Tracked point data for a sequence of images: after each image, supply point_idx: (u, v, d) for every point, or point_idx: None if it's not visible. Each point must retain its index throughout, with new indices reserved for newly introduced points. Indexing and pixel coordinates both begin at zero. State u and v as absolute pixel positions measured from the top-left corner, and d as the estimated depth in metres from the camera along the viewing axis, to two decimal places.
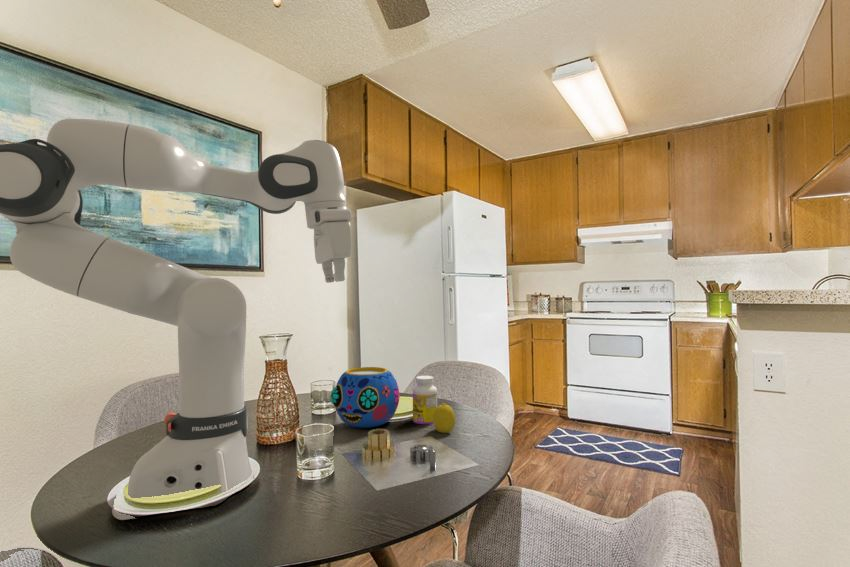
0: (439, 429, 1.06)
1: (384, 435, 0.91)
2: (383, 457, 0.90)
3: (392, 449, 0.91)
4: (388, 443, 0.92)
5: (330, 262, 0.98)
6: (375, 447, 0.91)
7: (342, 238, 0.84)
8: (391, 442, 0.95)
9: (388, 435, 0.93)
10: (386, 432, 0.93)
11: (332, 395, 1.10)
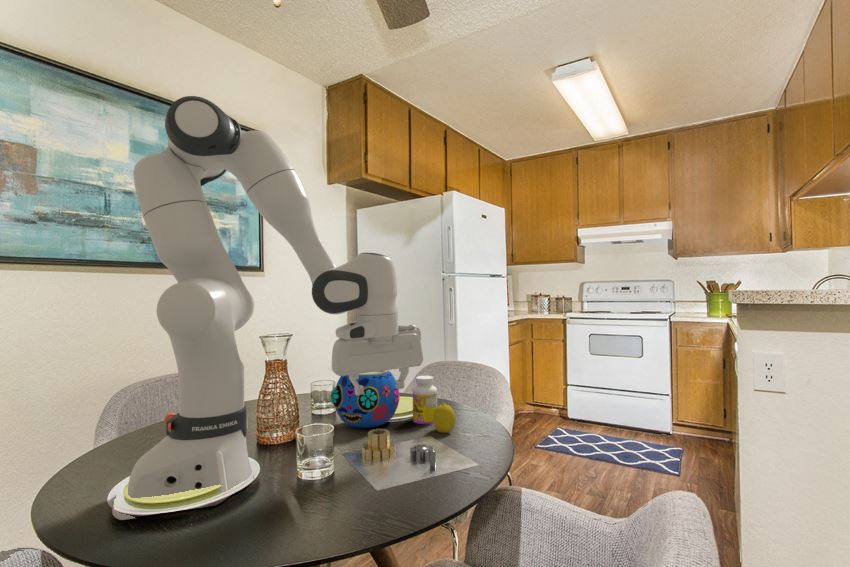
0: (439, 429, 1.06)
1: (384, 435, 0.91)
2: (383, 457, 0.90)
3: (392, 449, 0.91)
4: (388, 443, 0.92)
5: (402, 368, 0.95)
6: (375, 447, 0.91)
7: (334, 358, 0.89)
8: (391, 442, 0.95)
9: (388, 435, 0.93)
10: (386, 432, 0.93)
11: (332, 395, 1.10)
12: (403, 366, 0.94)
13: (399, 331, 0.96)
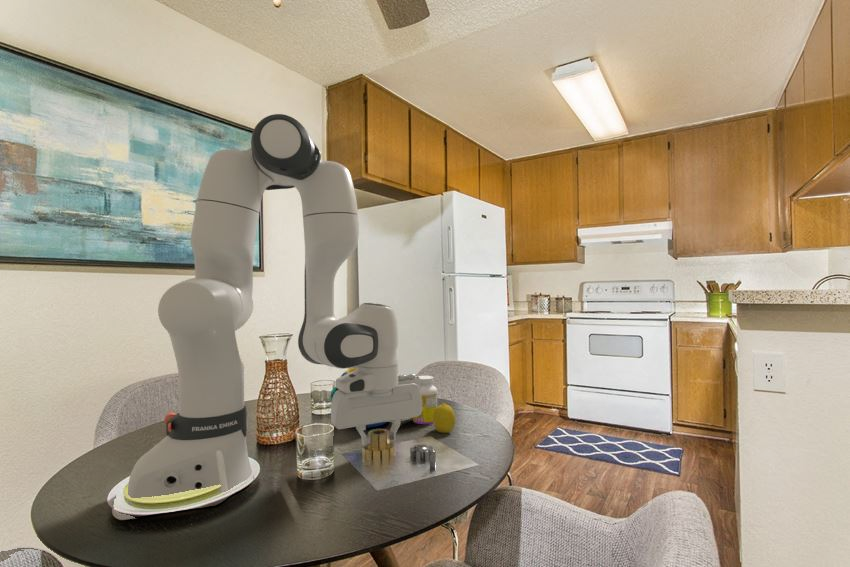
0: (439, 429, 1.06)
1: (384, 435, 0.91)
2: (383, 457, 0.90)
3: (392, 449, 0.91)
4: (388, 443, 0.92)
5: (394, 419, 0.94)
6: (375, 447, 0.91)
7: (334, 410, 0.88)
8: (391, 442, 0.95)
9: (388, 435, 0.93)
10: (386, 432, 0.93)
11: (332, 395, 1.10)
12: (402, 417, 0.94)
13: (399, 381, 0.95)
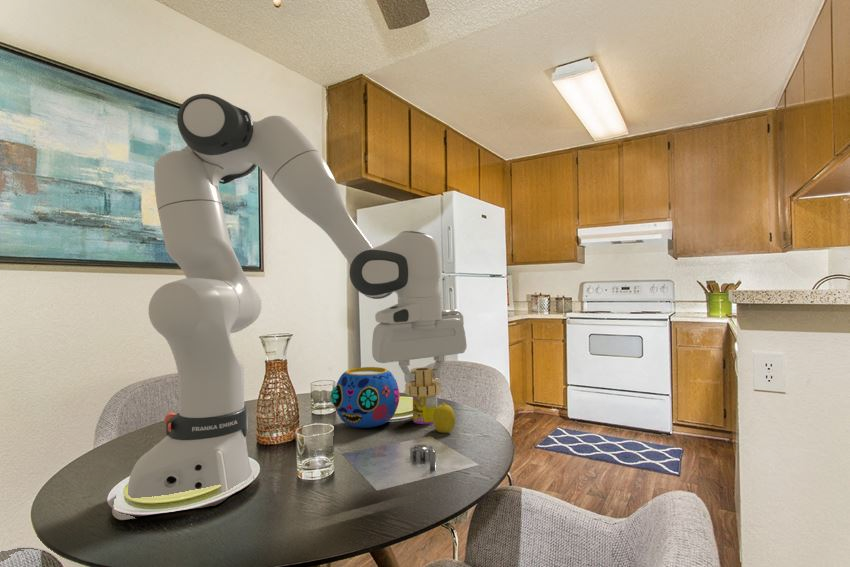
0: (439, 429, 1.06)
1: (429, 371, 0.85)
2: (429, 393, 0.84)
3: (438, 386, 0.85)
4: (433, 380, 0.86)
5: (437, 356, 0.88)
6: (420, 384, 0.85)
7: (376, 343, 0.82)
8: (435, 381, 0.89)
9: (432, 372, 0.87)
10: (430, 369, 0.87)
11: (332, 395, 1.10)
12: (447, 353, 0.88)
13: (441, 316, 0.89)
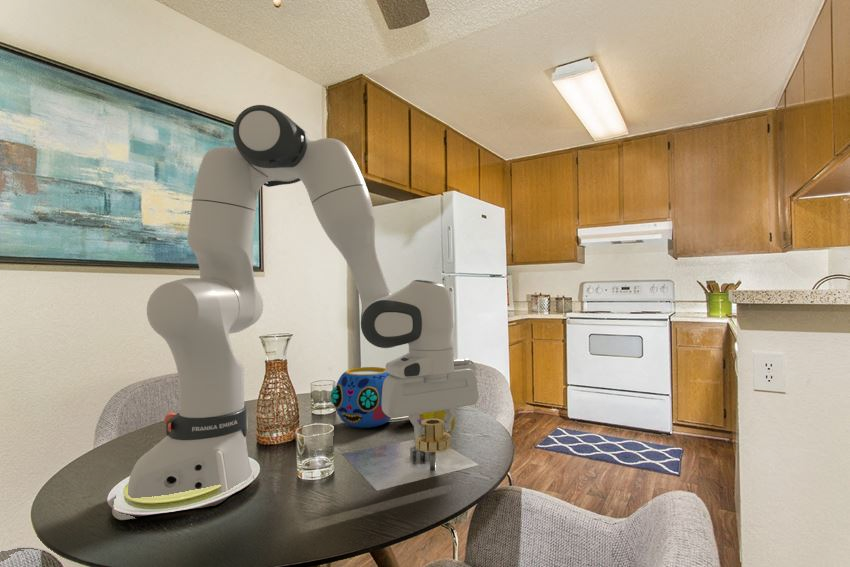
0: None
1: (440, 425, 0.83)
2: (440, 449, 0.81)
3: (449, 440, 0.83)
4: (443, 434, 0.84)
5: None
6: (430, 438, 0.82)
7: (386, 397, 0.80)
8: (445, 433, 0.86)
9: (443, 425, 0.84)
10: (441, 422, 0.84)
11: (332, 395, 1.10)
12: (458, 405, 0.85)
13: (453, 366, 0.87)
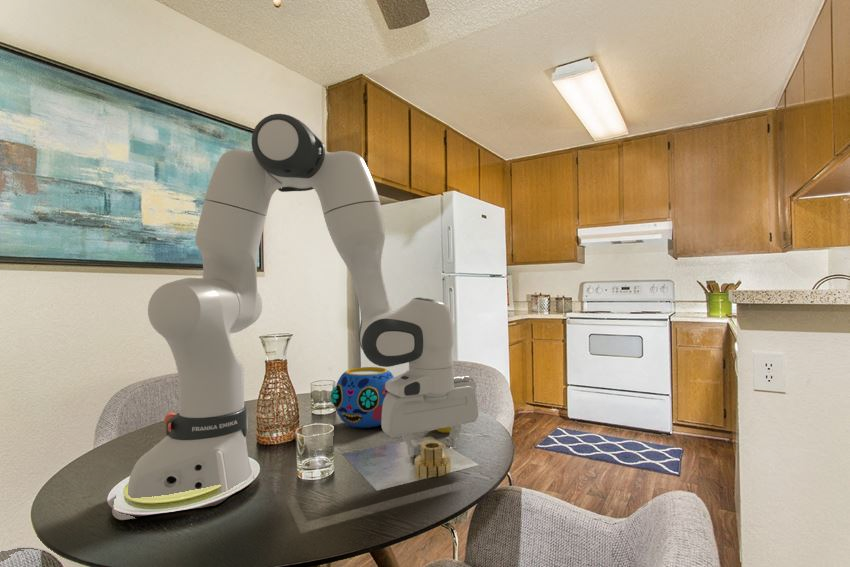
0: (439, 429, 1.06)
1: (439, 449, 0.83)
2: (439, 474, 0.81)
3: (448, 464, 0.83)
4: (443, 458, 0.84)
5: None
6: (430, 462, 0.82)
7: (386, 416, 0.80)
8: (445, 456, 0.86)
9: (443, 449, 0.84)
10: (441, 445, 0.84)
11: (332, 395, 1.10)
12: (458, 423, 0.85)
13: (453, 383, 0.87)
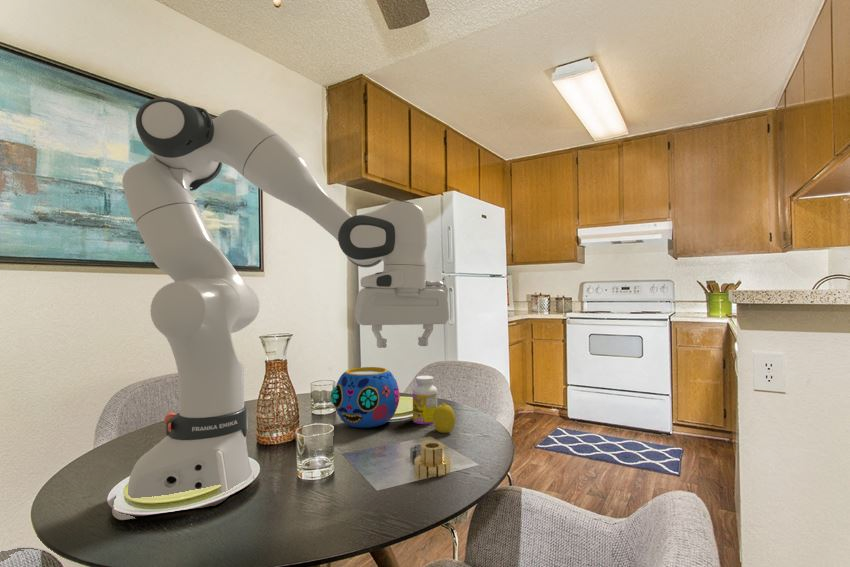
0: (439, 429, 1.06)
1: (439, 449, 0.83)
2: (439, 474, 0.81)
3: (448, 464, 0.83)
4: (443, 458, 0.84)
5: (426, 324, 0.91)
6: (430, 462, 0.82)
7: (358, 306, 0.85)
8: (445, 456, 0.86)
9: (443, 449, 0.84)
10: (441, 445, 0.84)
11: (332, 395, 1.10)
12: (428, 322, 0.90)
13: (426, 286, 0.92)
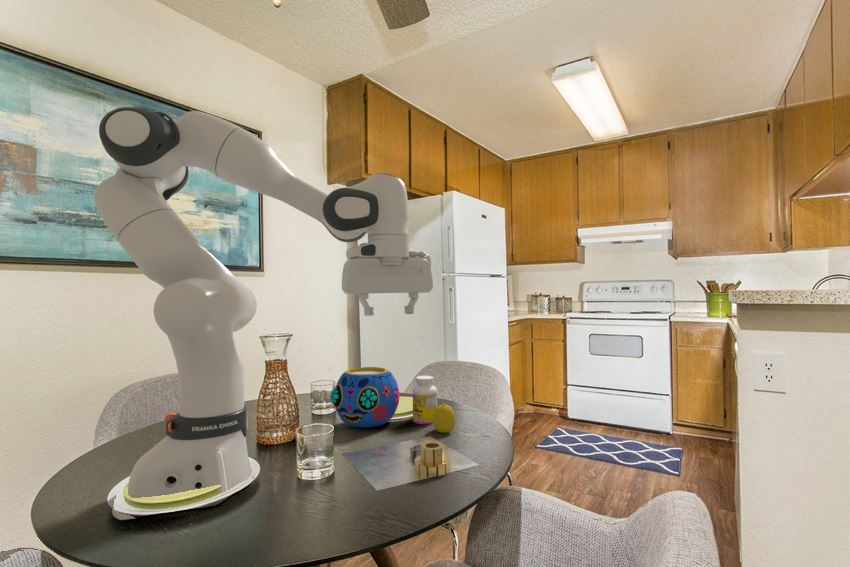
0: (439, 429, 1.06)
1: (439, 449, 0.83)
2: (439, 474, 0.81)
3: (448, 464, 0.83)
4: (443, 458, 0.84)
5: (412, 293, 0.95)
6: (430, 462, 0.82)
7: (345, 275, 0.88)
8: (445, 456, 0.86)
9: (443, 449, 0.84)
10: (441, 445, 0.84)
11: (332, 395, 1.10)
12: (413, 290, 0.94)
13: (409, 256, 0.95)
